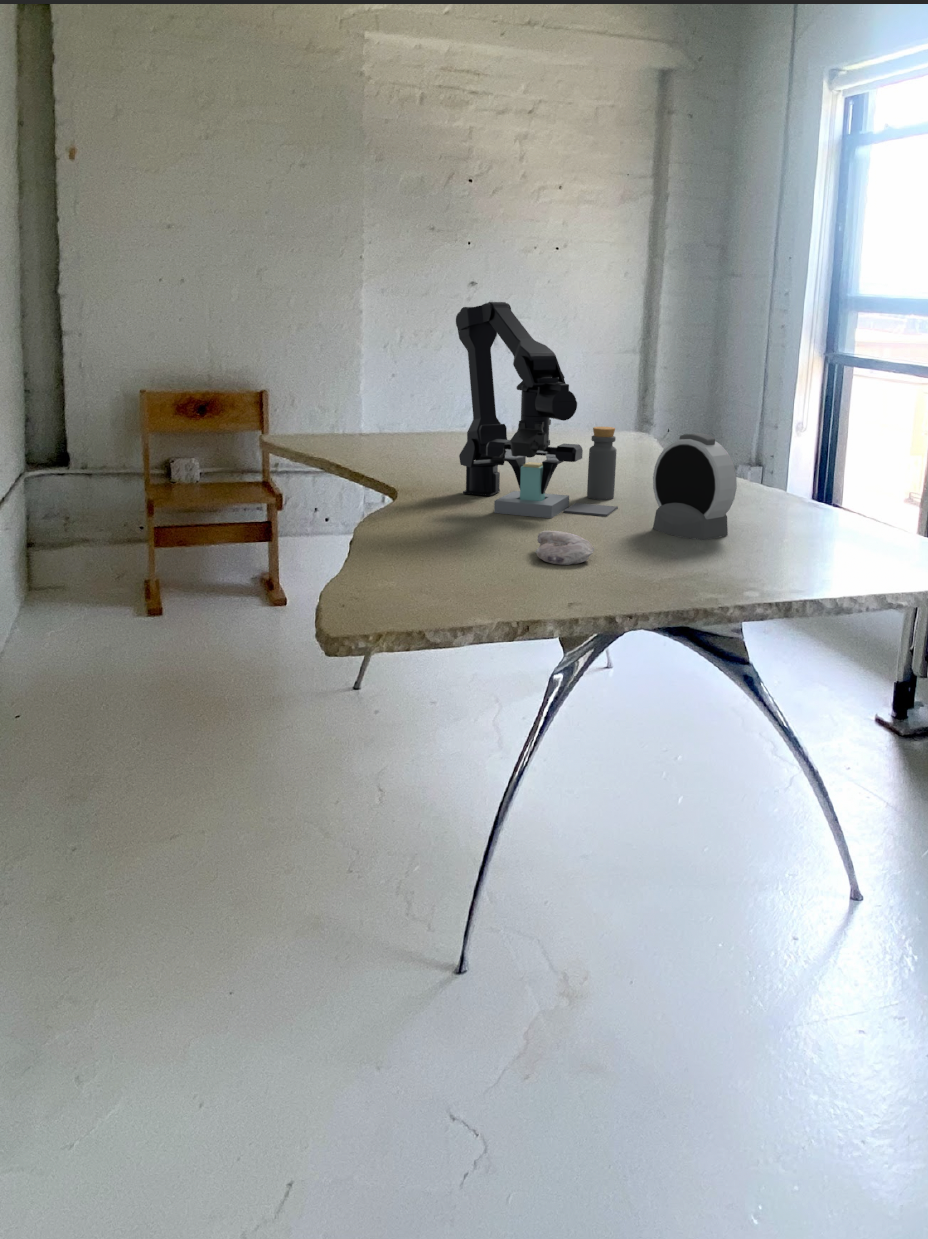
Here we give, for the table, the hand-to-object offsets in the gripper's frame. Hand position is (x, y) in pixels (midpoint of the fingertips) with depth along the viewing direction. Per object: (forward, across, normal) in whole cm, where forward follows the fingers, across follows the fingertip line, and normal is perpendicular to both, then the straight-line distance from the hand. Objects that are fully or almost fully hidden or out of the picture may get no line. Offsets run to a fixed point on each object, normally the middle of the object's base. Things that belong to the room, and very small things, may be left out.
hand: (532, 493), depth 216 cm
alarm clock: (+4, +33, -6) cm, 34 cm away
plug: (+4, 0, 0) cm, 4 cm away
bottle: (+4, +9, +20) cm, 22 cm away
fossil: (+4, +17, -36) cm, 40 cm away
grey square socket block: (+4, 0, 0) cm, 4 cm away
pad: (+4, +11, +5) cm, 13 cm away
